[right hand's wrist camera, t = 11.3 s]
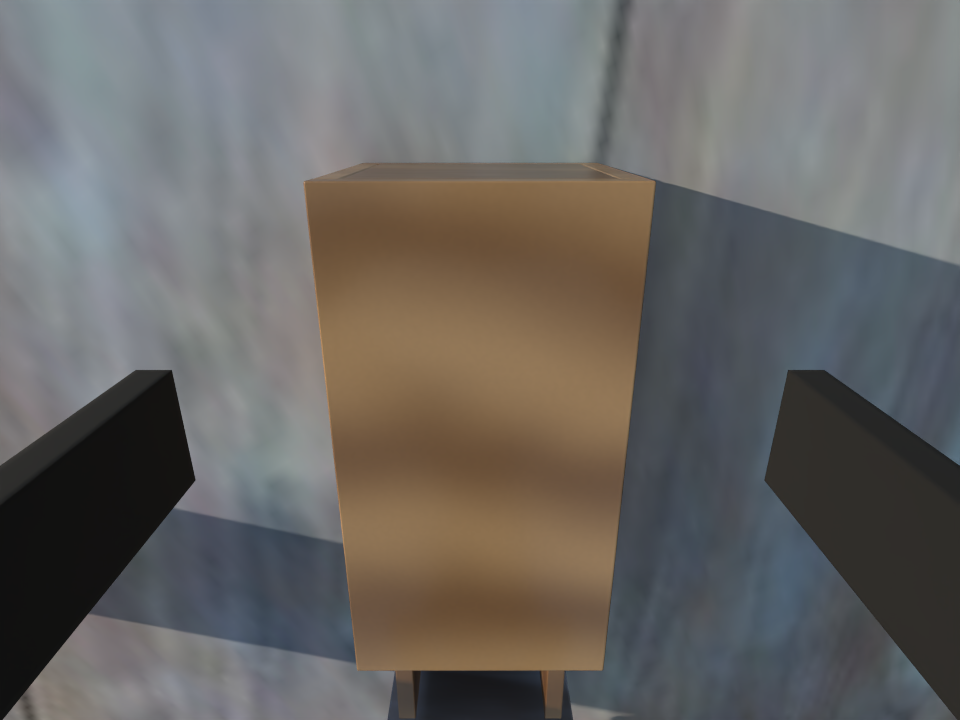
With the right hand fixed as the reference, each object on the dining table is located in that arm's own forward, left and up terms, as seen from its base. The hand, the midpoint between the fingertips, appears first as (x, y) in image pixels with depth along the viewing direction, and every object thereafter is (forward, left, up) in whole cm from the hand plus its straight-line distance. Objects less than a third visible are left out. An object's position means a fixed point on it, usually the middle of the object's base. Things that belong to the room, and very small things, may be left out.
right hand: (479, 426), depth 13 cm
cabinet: (+2, +5, -16) cm, 17 cm away
